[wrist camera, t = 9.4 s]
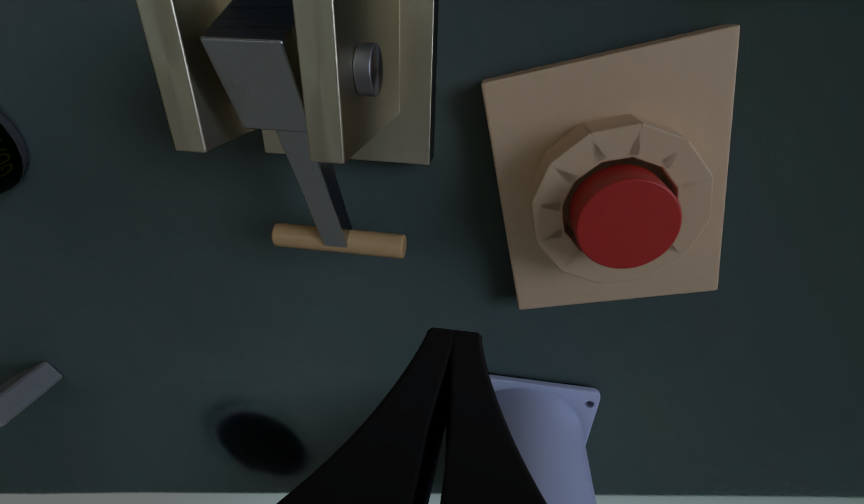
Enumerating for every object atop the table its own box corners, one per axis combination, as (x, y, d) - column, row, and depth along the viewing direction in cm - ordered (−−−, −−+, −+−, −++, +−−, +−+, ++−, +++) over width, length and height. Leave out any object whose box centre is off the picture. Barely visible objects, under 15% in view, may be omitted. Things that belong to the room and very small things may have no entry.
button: (665, 241, 17) (681, 263, 16) (572, 253, 18) (579, 275, 16) (667, 155, 15) (685, 169, 14) (565, 172, 16) (571, 188, 15)
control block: (707, 276, 20) (737, 314, 18) (517, 297, 22) (520, 333, 20) (725, 23, 15) (770, 24, 13) (482, 79, 18) (478, 90, 15)
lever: (409, 232, 20) (400, 275, 19) (288, 221, 21) (271, 262, 19) (379, -4, 11) (358, 45, 10) (174, -10, 12) (128, 34, 11)
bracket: (433, 157, 19) (393, 238, 12) (277, 146, 20) (153, 215, 13) (441, -76, 15) (386, -161, 8) (243, -79, 16) (36, -157, 9)
